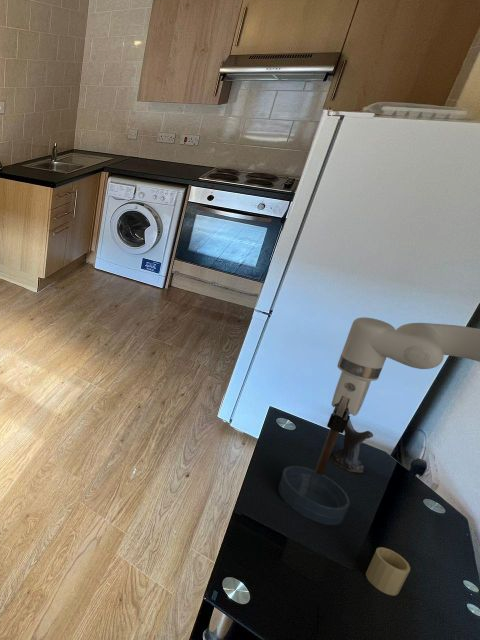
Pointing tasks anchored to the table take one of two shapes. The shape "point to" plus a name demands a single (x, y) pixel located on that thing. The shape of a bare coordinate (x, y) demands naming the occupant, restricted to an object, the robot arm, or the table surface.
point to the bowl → (313, 495)
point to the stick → (326, 451)
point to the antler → (351, 449)
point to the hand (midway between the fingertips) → (336, 427)
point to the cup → (387, 571)
